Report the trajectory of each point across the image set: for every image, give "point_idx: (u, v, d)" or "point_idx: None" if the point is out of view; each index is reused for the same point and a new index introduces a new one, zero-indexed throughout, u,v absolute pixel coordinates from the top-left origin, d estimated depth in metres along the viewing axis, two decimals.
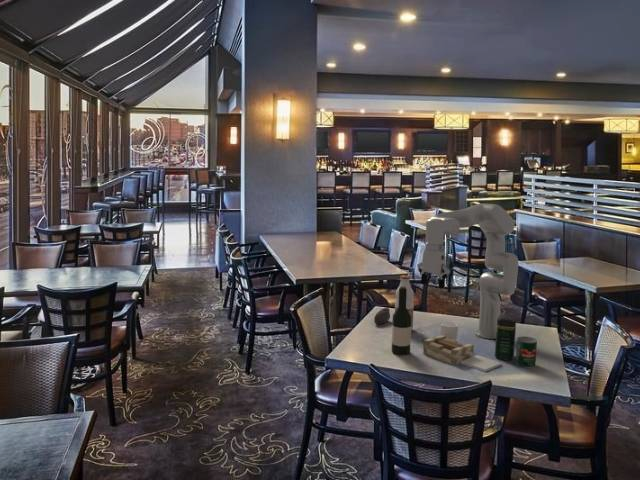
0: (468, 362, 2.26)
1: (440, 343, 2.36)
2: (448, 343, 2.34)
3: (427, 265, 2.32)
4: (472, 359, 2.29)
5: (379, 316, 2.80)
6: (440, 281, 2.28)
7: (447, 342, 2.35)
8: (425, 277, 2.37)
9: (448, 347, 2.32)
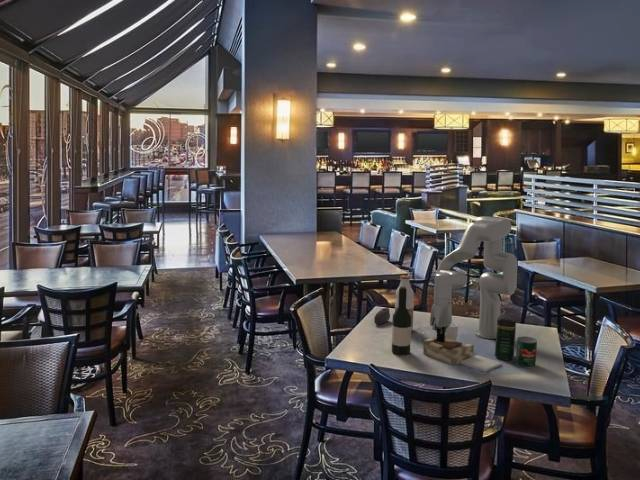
0: (468, 362, 2.26)
1: (439, 344, 2.36)
2: (447, 342, 2.34)
3: (443, 320, 2.34)
4: (472, 359, 2.29)
5: (379, 316, 2.80)
6: None
7: (446, 342, 2.35)
8: None
9: (447, 346, 2.33)
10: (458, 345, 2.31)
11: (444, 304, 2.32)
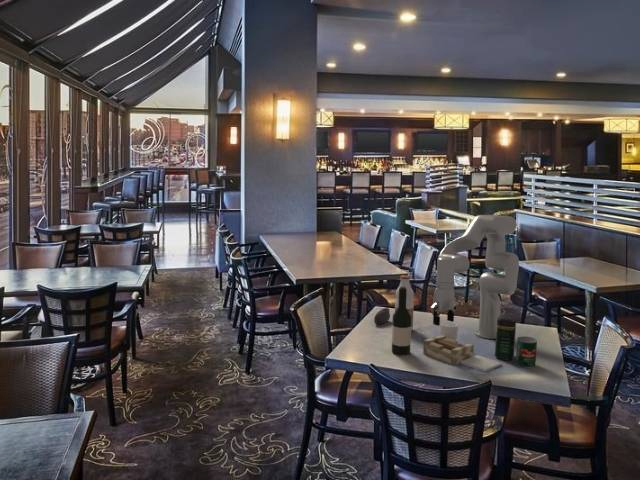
0: (468, 362, 2.26)
1: (440, 343, 2.36)
2: (448, 343, 2.34)
3: (446, 304, 2.33)
4: (472, 359, 2.29)
5: (379, 316, 2.80)
6: None
7: (447, 342, 2.35)
8: None
9: (448, 347, 2.32)
10: None
11: (447, 288, 2.31)
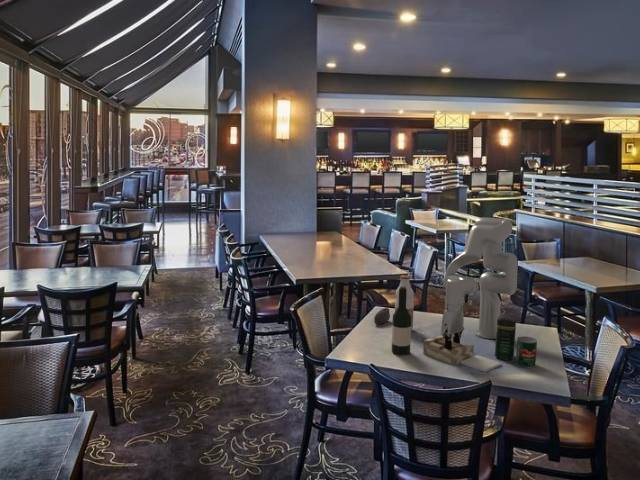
0: (468, 362, 2.26)
1: (440, 343, 2.36)
2: None
3: (455, 326, 2.30)
4: (472, 359, 2.29)
5: (379, 316, 2.80)
6: None
7: None
8: None
9: None
10: None
11: (456, 310, 2.28)
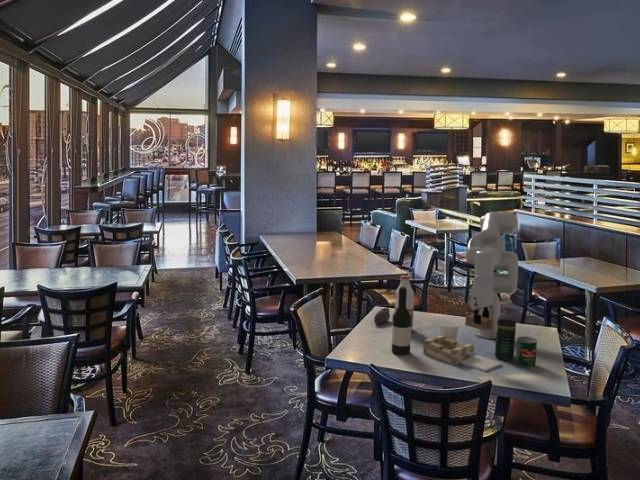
0: (468, 362, 2.26)
1: (468, 318, 2.26)
2: None
3: (485, 300, 2.20)
4: (472, 359, 2.29)
5: (379, 316, 2.80)
6: None
7: None
8: None
9: None
10: (489, 322, 2.21)
11: (486, 283, 2.18)
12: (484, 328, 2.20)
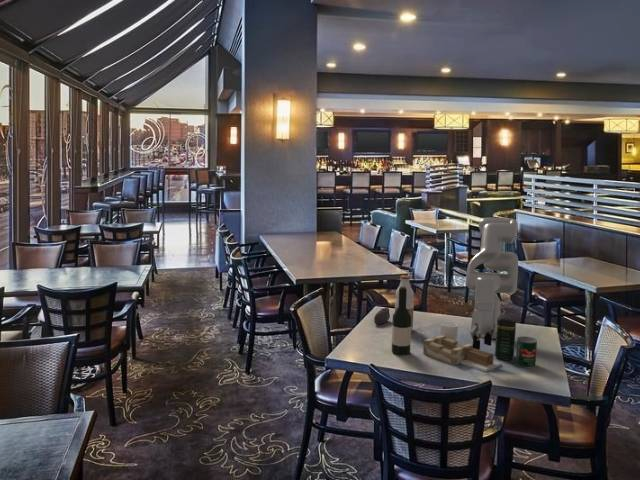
0: (468, 362, 2.26)
1: (469, 352, 2.28)
2: (478, 352, 2.26)
3: (486, 326, 2.21)
4: None
5: (379, 316, 2.80)
6: None
7: (477, 352, 2.27)
8: None
9: (478, 356, 2.24)
10: (489, 357, 2.23)
11: (487, 309, 2.19)
12: (485, 363, 2.22)
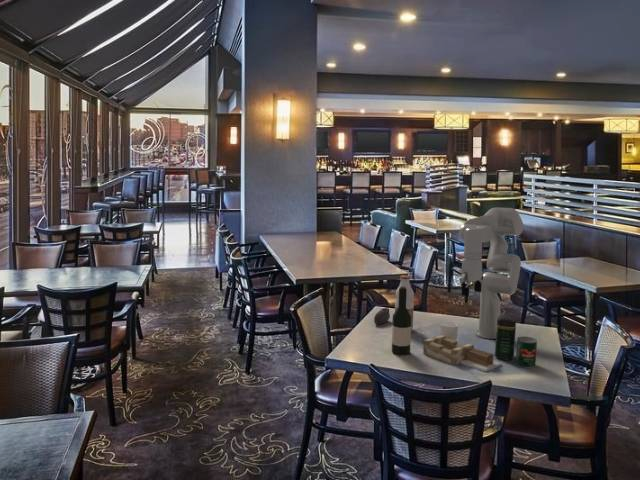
0: (468, 362, 2.26)
1: (469, 352, 2.28)
2: (478, 352, 2.26)
3: (475, 274, 2.32)
4: None
5: (379, 316, 2.80)
6: None
7: (477, 352, 2.27)
8: None
9: (478, 356, 2.24)
10: (489, 357, 2.23)
11: (475, 258, 2.30)
12: (485, 363, 2.22)
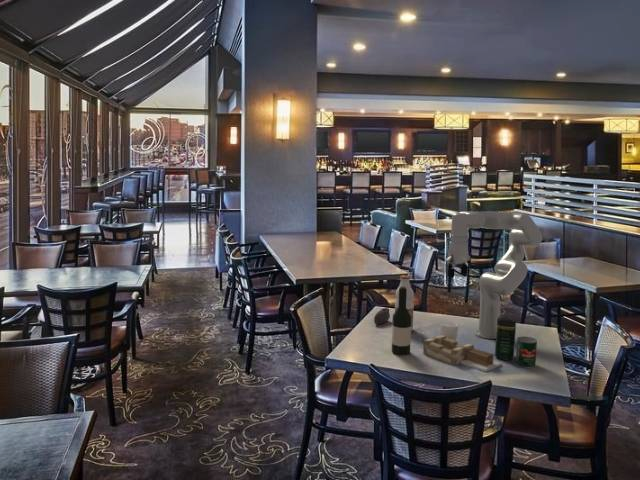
0: (468, 362, 2.26)
1: (469, 352, 2.28)
2: (478, 352, 2.26)
3: (460, 257, 2.47)
4: None
5: (379, 316, 2.80)
6: None
7: (477, 352, 2.27)
8: None
9: (478, 356, 2.24)
10: (489, 357, 2.23)
11: (461, 241, 2.45)
12: (485, 363, 2.22)
